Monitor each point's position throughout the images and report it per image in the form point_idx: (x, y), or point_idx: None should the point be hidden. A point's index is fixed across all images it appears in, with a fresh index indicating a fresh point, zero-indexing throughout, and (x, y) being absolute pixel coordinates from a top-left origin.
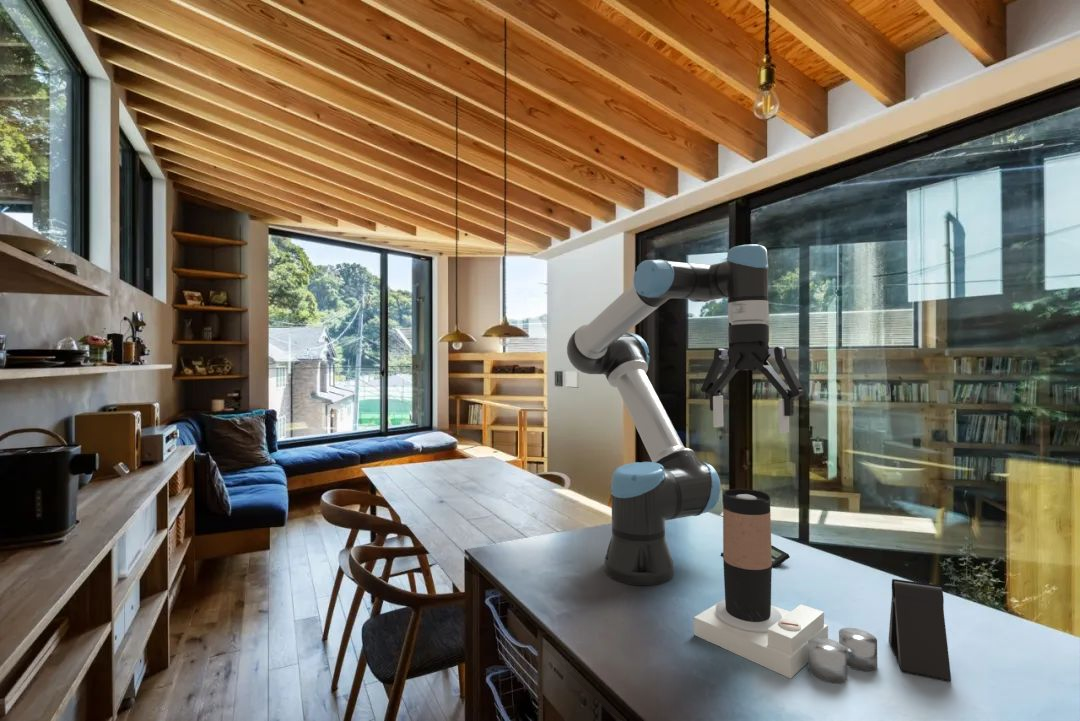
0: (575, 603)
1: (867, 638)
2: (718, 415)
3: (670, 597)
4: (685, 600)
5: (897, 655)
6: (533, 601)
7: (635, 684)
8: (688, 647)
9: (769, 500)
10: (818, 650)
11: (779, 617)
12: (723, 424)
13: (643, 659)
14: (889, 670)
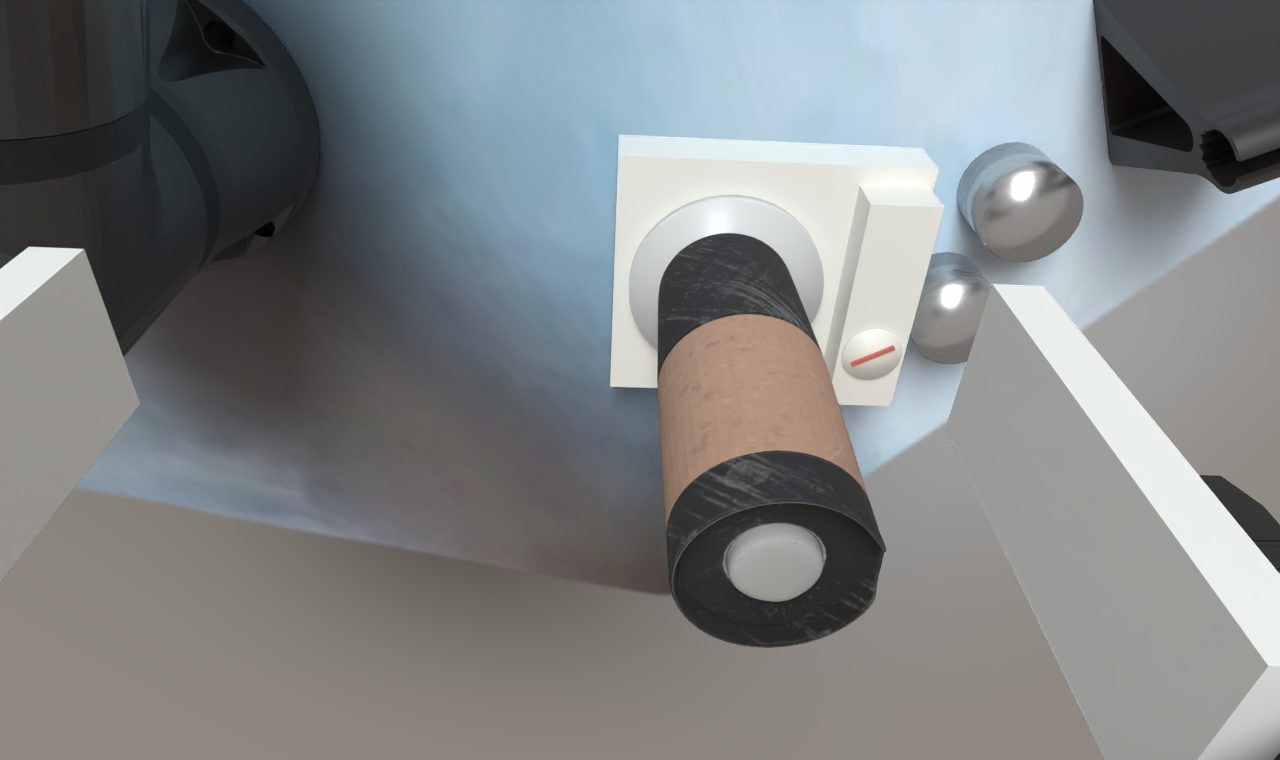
0: (277, 435)
1: (1058, 211)
2: (36, 473)
3: (418, 219)
4: (465, 203)
5: (1111, 84)
6: (203, 495)
7: (628, 561)
8: (632, 410)
9: (883, 554)
10: (942, 357)
11: (813, 261)
12: (68, 262)
13: (587, 501)
14: (1080, 172)
